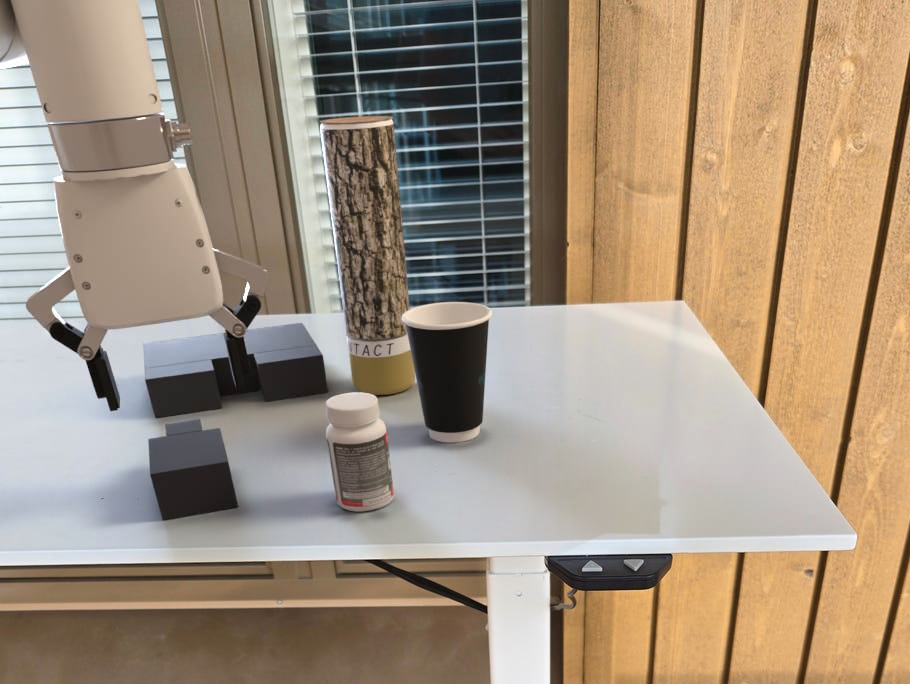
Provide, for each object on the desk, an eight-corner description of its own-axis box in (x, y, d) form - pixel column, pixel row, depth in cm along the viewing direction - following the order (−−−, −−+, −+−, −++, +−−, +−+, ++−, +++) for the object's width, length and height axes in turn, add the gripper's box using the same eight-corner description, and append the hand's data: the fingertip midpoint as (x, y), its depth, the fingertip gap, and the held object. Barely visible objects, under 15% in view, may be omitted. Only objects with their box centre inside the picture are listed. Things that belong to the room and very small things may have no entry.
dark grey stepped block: (162, 520, 71) (150, 474, 69) (159, 469, 80) (147, 426, 77) (238, 507, 72) (228, 461, 70) (226, 458, 81) (217, 416, 79)
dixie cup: (513, 433, 83) (510, 312, 77) (443, 456, 79) (433, 331, 73) (464, 411, 88) (458, 296, 82) (396, 432, 85) (384, 313, 78)
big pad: (155, 418, 91) (145, 379, 88) (152, 378, 102) (143, 343, 100) (328, 392, 95) (322, 354, 93) (307, 356, 106) (302, 322, 104)
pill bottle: (405, 500, 72) (395, 400, 67) (356, 518, 70) (342, 416, 65) (373, 482, 75) (361, 385, 70) (325, 500, 73) (309, 400, 68)
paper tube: (374, 373, 99) (345, 116, 85) (427, 380, 97) (406, 115, 83) (341, 393, 94) (304, 123, 80) (395, 400, 92) (367, 122, 78)
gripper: (237, 133, 65) (281, 365, 75) (-15, 158, 61) (66, 399, 71) (247, 140, 59) (294, 391, 69) (-30, 168, 55) (60, 430, 65)
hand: (178, 395), depth 70 cm, fingers open, 9 cm apart
